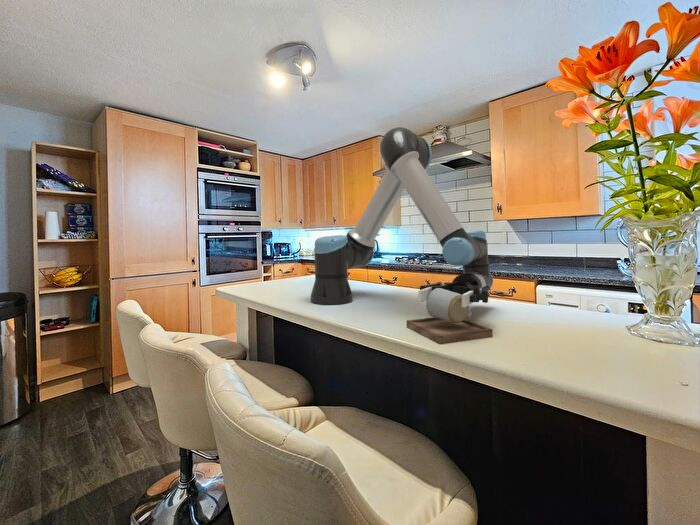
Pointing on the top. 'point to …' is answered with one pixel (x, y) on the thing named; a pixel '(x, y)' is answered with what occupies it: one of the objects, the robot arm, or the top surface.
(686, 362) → the top surface
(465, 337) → the walnut board
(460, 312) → the ceramic mug
